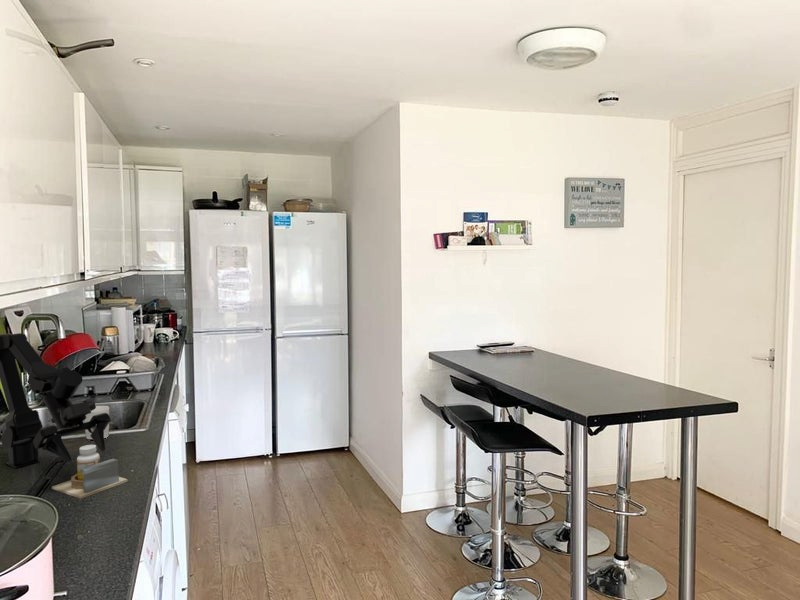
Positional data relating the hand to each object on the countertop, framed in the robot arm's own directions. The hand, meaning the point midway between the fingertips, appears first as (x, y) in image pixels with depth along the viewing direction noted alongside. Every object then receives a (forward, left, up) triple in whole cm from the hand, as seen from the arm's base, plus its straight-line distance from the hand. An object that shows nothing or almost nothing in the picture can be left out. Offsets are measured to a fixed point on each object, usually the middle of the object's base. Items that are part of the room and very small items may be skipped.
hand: (87, 455), depth 158 cm
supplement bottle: (0, 0, -7) cm, 8 cm away
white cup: (+23, +38, -8) cm, 45 cm away
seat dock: (0, -1, -8) cm, 8 cm away
